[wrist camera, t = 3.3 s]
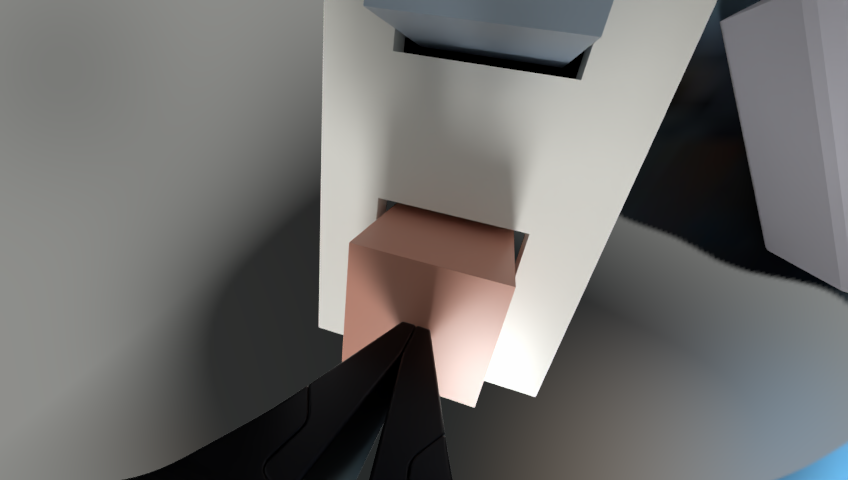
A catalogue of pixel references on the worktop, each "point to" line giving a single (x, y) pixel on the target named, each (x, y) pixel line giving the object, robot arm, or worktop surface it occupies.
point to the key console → (496, 154)
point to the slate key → (500, 26)
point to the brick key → (432, 290)
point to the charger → (796, 126)
